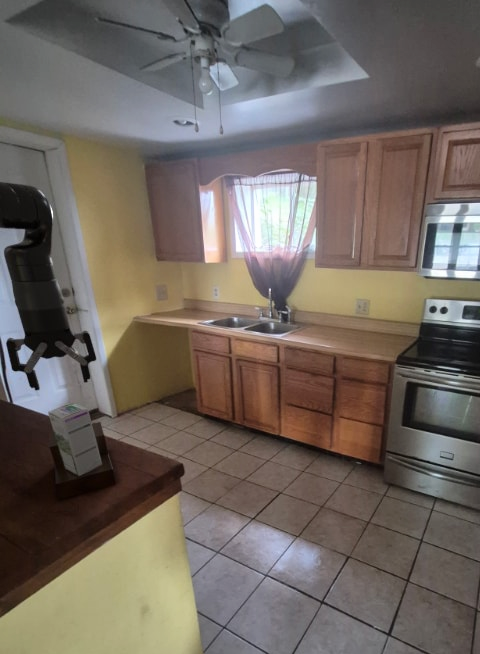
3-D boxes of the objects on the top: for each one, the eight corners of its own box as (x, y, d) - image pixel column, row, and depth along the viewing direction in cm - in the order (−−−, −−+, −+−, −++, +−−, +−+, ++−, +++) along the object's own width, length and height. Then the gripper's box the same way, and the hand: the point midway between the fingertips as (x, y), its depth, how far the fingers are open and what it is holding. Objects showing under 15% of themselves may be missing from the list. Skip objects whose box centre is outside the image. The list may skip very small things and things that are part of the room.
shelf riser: (60, 499, 80) (49, 464, 76) (58, 464, 92) (49, 432, 88) (116, 483, 85) (108, 449, 81) (107, 452, 97) (100, 421, 94)
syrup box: (103, 464, 85) (89, 407, 79) (78, 477, 80) (61, 417, 75) (88, 457, 88) (74, 401, 82) (63, 469, 83) (46, 411, 77)
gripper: (82, 299, 76) (98, 374, 82) (-4, 304, 69) (21, 385, 75) (85, 305, 70) (102, 384, 77) (-9, 311, 63) (18, 398, 70)
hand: (62, 385), depth 76 cm, fingers open, 8 cm apart
